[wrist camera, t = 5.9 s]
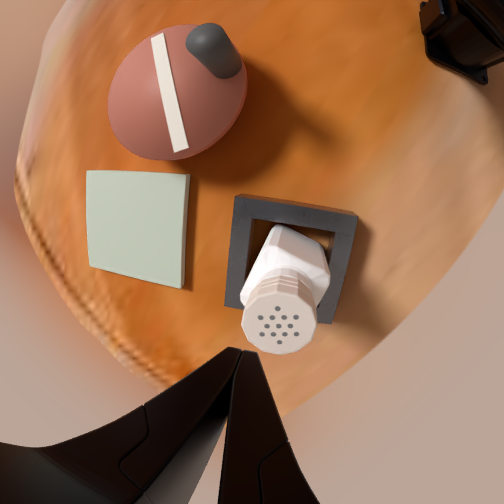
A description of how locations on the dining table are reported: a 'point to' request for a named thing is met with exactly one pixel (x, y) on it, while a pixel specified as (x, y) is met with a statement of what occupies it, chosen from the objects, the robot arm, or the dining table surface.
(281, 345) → the pepper shaker
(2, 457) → the robot arm
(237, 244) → the dark grey square frame
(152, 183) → the board
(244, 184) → the dining table surface
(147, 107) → the handwheel
